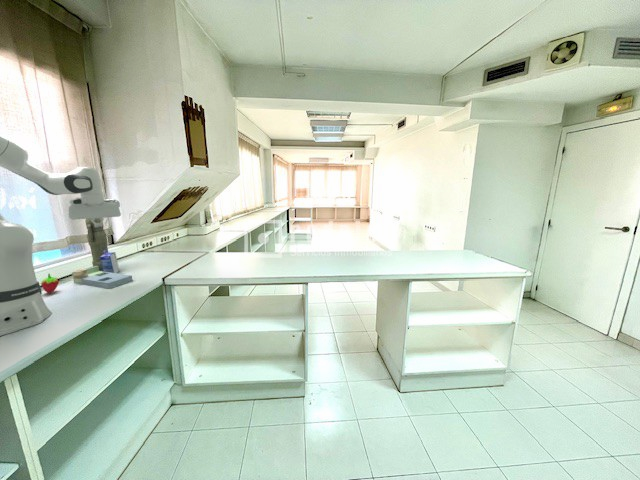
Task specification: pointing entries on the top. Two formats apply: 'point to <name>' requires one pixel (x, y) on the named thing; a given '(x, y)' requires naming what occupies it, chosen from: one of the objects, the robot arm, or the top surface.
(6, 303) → the robot arm
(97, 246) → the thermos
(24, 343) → the top surface
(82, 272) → the beech block
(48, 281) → the strawberry
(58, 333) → the top surface
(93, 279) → the trap board
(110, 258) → the ink cartridge box
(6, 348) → the top surface
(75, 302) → the top surface
